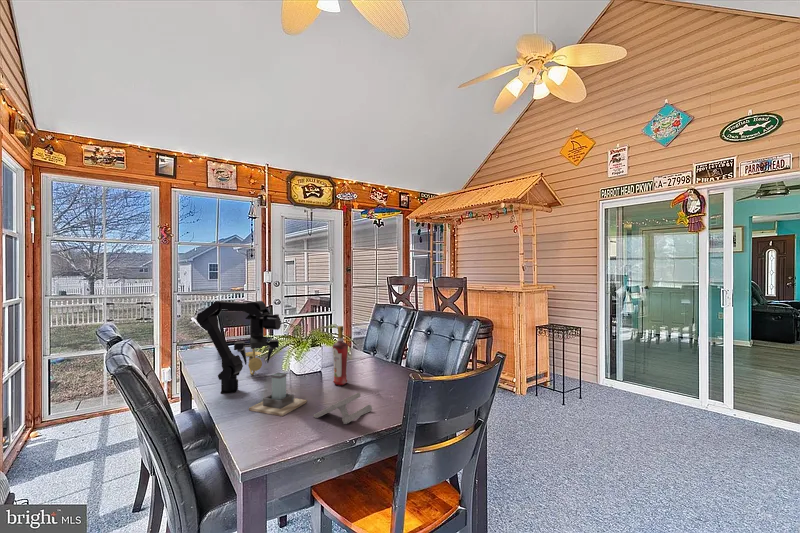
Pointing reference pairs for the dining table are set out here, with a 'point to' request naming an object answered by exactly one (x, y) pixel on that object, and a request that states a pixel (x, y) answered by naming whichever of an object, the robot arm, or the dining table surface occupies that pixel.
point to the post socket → (278, 405)
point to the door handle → (342, 407)
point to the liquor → (340, 359)
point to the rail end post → (278, 386)
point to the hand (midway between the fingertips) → (256, 363)
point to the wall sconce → (254, 361)
